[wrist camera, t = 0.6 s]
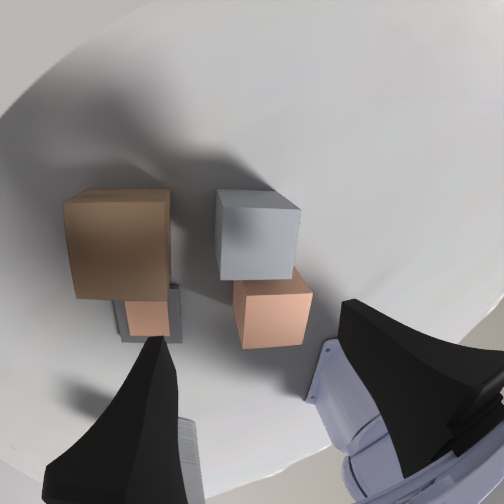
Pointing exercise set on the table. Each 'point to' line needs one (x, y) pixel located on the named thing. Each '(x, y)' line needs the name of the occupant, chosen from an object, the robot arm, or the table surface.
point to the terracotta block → (271, 311)
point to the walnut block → (120, 244)
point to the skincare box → (190, 461)
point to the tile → (150, 318)
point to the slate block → (255, 234)
